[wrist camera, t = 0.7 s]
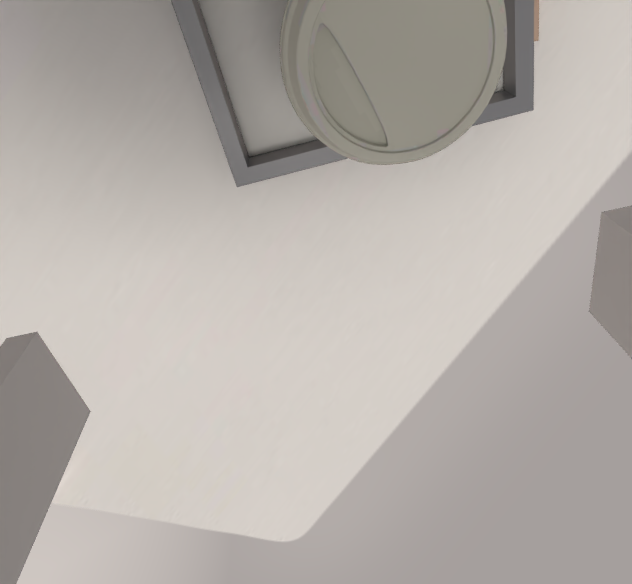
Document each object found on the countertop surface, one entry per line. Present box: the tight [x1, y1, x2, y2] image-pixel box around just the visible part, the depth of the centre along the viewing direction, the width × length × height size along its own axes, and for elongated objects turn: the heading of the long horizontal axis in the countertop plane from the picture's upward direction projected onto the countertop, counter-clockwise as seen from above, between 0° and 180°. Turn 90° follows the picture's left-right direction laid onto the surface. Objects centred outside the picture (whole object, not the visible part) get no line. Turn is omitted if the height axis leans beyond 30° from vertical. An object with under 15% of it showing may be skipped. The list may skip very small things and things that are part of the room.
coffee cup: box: [280, 0, 507, 165], centre depth 22 cm, size 8×8×12 cm
